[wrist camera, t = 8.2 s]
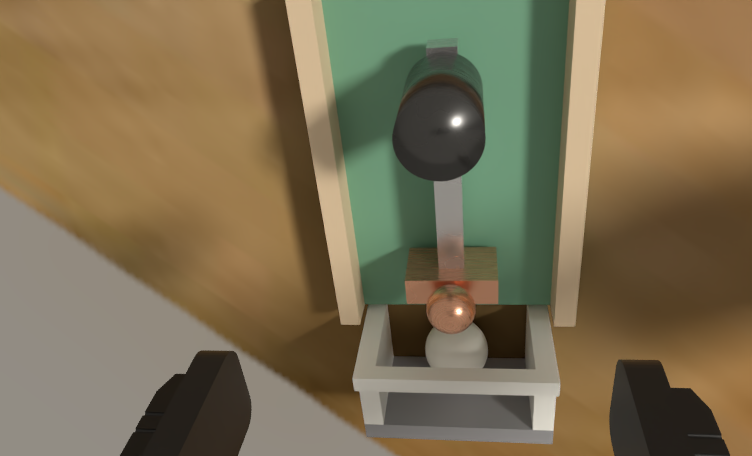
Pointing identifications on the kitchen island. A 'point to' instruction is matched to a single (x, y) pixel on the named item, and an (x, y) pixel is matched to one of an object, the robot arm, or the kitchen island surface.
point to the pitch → (502, 146)
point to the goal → (458, 389)
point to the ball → (457, 349)
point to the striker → (445, 183)
